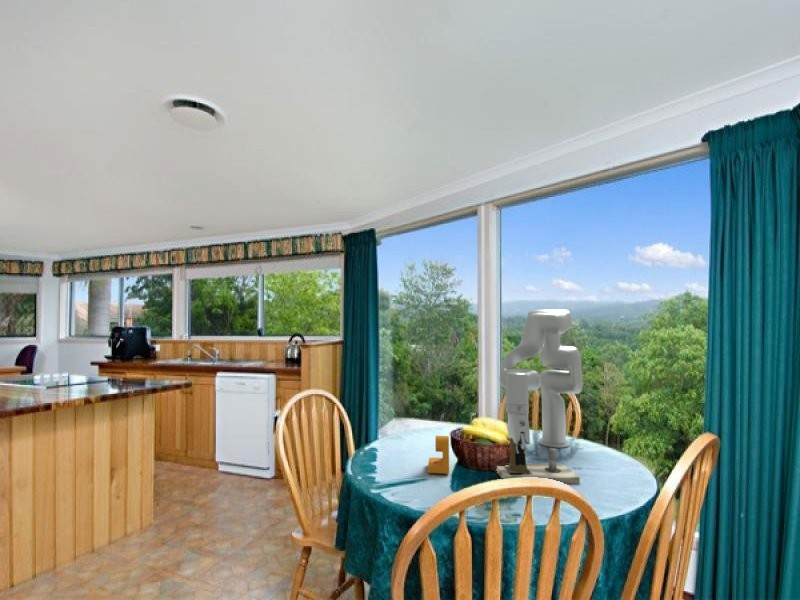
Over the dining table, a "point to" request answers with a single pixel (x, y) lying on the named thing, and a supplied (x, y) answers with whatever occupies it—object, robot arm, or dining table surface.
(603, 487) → the dining table surface
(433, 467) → the bracket
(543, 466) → the beige panel with knob
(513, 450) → the olive rounded piece
